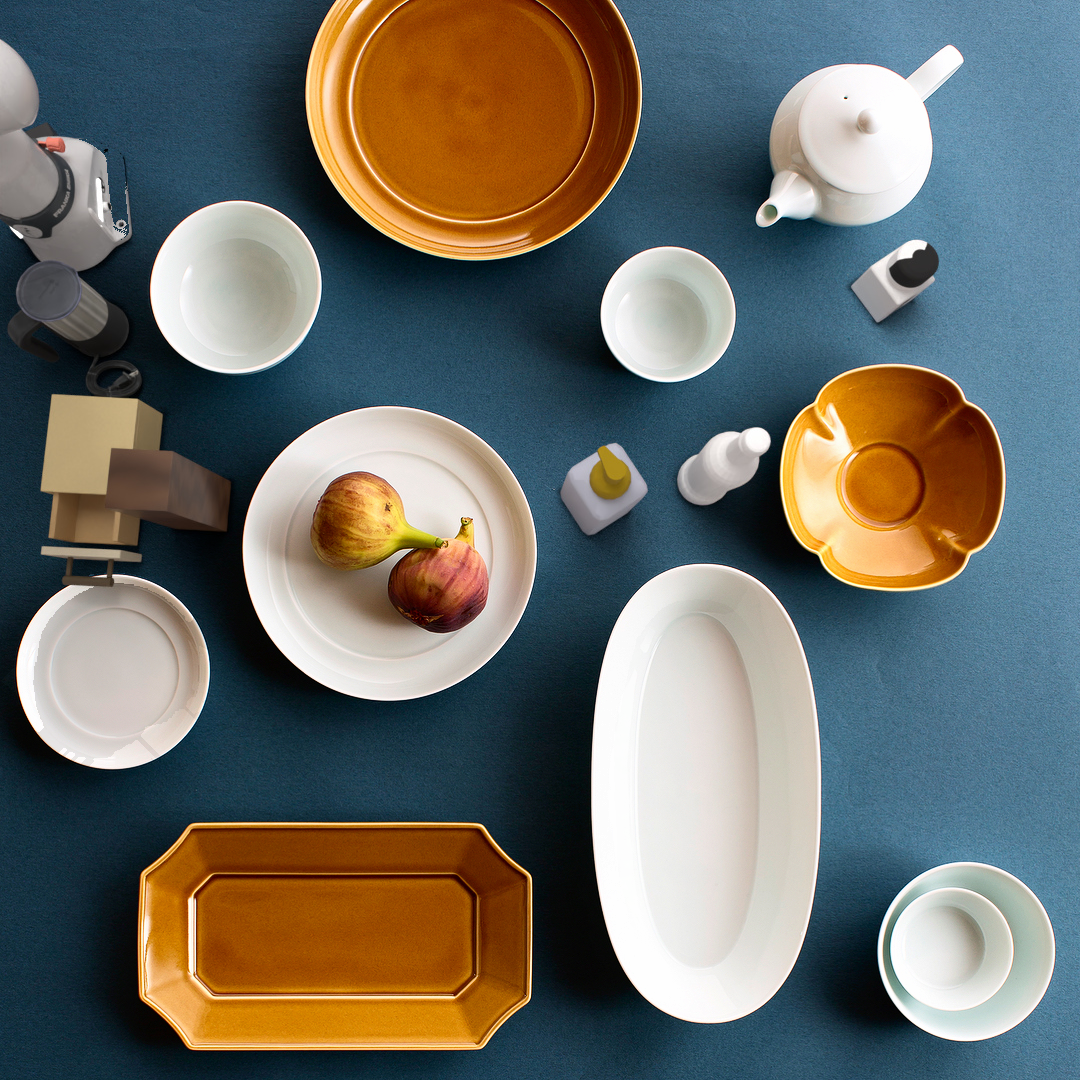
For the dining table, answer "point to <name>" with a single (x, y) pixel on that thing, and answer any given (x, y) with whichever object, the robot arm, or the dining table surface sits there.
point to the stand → (167, 490)
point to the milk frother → (72, 323)
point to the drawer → (90, 534)
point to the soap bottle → (602, 488)
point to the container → (897, 278)
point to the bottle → (722, 465)
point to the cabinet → (93, 440)
